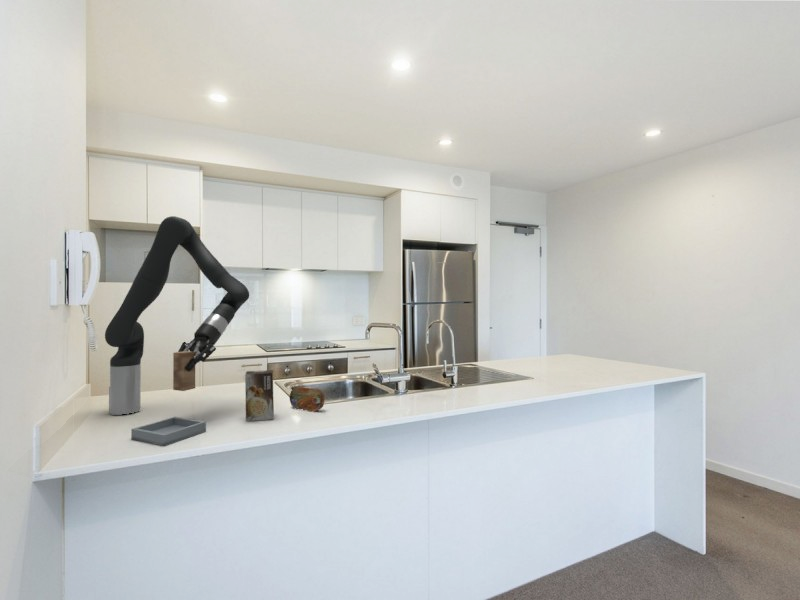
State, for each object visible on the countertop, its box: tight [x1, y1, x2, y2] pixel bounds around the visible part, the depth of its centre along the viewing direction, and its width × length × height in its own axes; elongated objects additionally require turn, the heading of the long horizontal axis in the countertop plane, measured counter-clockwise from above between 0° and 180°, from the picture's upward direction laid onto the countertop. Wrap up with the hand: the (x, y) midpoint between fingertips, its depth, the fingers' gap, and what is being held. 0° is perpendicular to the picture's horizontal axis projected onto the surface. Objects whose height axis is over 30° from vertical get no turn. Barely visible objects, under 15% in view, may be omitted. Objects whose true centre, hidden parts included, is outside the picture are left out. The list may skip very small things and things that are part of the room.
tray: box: [130, 416, 207, 447], centre depth 124 cm, size 14×14×3 cm
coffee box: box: [244, 369, 275, 422], centre depth 142 cm, size 9×6×16 cm
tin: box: [289, 386, 325, 412], centre depth 153 cm, size 15×3×8 cm, turn 62°
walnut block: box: [172, 351, 196, 392], centre depth 133 cm, size 4×4×12 cm
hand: (181, 369), depth 132 cm, fingers closed on walnut block, 4 cm apart
